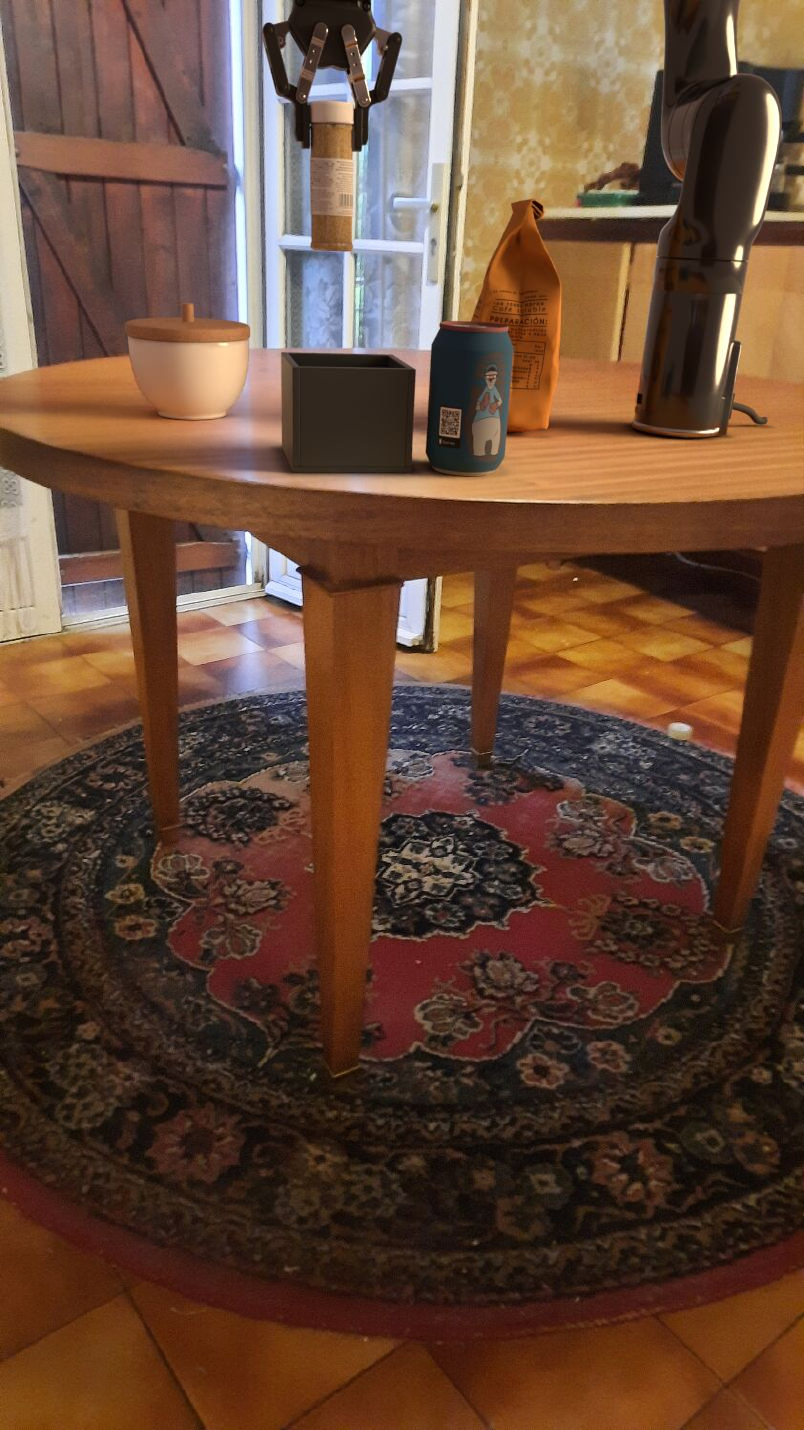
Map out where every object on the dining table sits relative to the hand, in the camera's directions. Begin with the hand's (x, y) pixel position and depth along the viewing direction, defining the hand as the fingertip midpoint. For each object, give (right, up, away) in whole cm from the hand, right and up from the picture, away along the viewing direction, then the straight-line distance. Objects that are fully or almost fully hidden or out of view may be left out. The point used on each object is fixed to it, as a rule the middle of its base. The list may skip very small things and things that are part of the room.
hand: (331, 149), depth 103 cm
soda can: (+13, -35, -13) cm, 40 cm away
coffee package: (+18, -26, +8) cm, 33 cm away
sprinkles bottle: (0, -9, +4) cm, 10 cm away
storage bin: (+2, -34, -11) cm, 36 cm away
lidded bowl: (-15, -25, +6) cm, 30 cm away
